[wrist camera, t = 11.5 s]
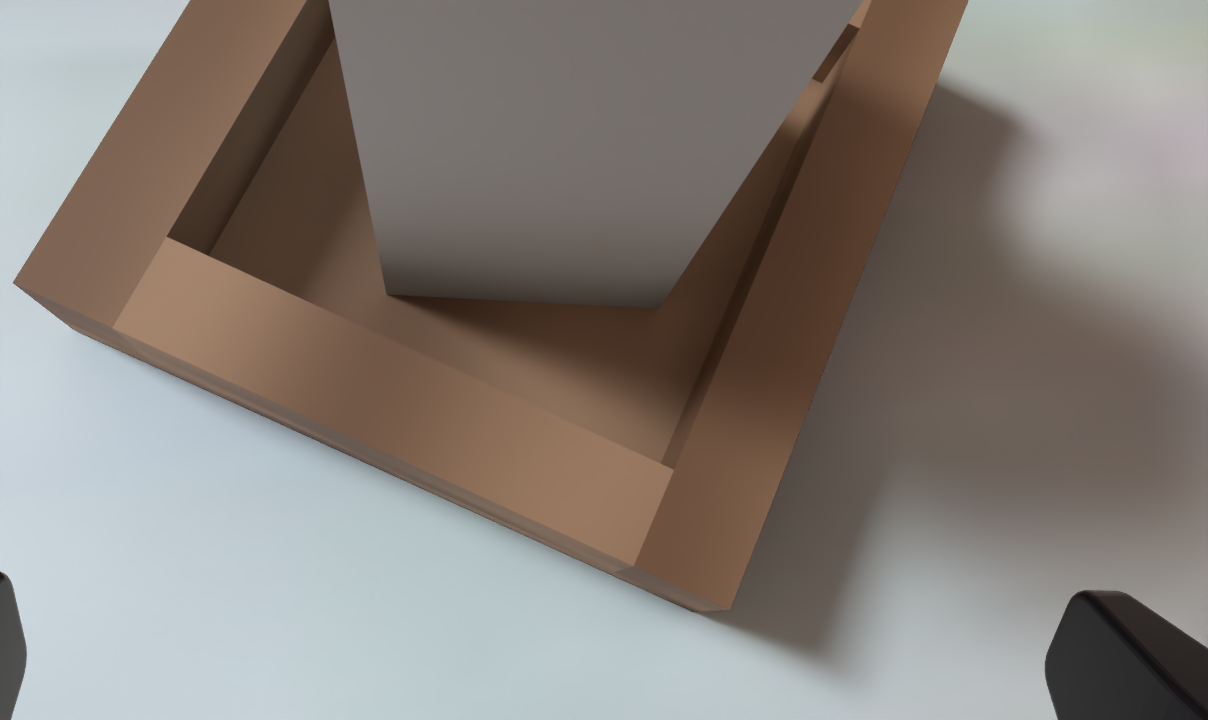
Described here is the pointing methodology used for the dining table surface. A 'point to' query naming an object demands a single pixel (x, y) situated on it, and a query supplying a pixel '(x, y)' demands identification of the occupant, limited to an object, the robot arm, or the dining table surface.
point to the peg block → (565, 134)
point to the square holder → (486, 327)
